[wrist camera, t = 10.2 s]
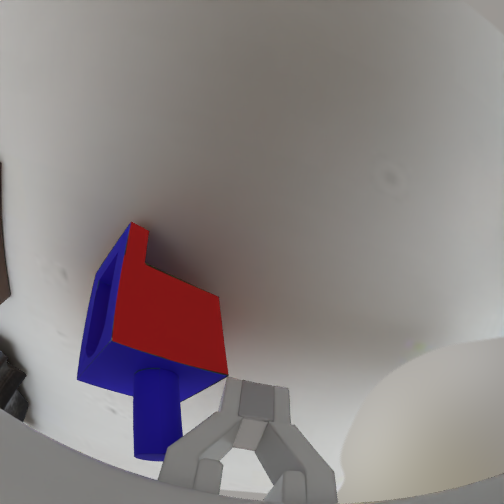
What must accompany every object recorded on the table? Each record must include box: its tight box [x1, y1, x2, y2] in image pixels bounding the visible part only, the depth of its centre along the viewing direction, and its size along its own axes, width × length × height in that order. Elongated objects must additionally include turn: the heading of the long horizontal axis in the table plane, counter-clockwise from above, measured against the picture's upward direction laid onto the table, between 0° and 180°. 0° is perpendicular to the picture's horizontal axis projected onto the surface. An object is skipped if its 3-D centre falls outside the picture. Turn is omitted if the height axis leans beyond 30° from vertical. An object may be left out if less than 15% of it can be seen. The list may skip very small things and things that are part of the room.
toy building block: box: [77, 222, 229, 461], centre depth 10 cm, size 4×4×8 cm
